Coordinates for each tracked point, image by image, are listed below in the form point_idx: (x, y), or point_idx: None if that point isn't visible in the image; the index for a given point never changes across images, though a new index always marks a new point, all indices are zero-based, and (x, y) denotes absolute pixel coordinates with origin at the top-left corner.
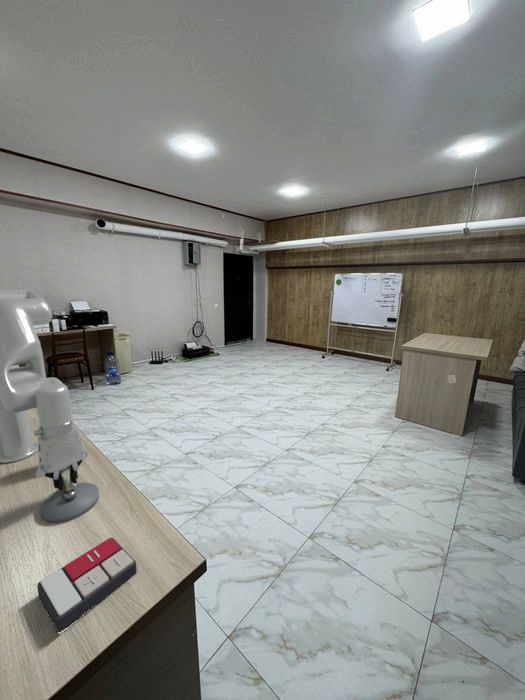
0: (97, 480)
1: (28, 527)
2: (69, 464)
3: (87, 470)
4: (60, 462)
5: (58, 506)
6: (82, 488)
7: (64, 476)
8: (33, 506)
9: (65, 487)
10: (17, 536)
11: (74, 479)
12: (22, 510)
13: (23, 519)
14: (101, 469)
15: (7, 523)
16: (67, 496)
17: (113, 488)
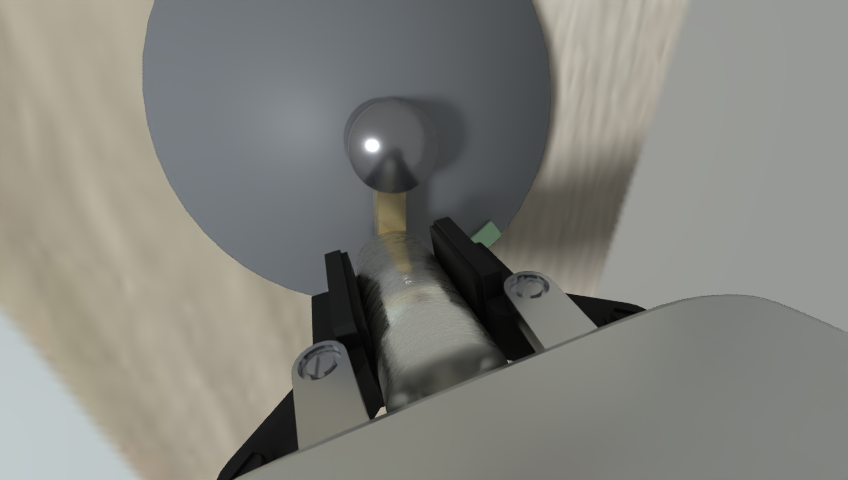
0: (182, 293)
1: (590, 67)
2: (442, 405)
3: (252, 413)
4: (703, 476)
5: (461, 102)
6: (289, 217)
7: (441, 296)
8: (529, 236)
9: (410, 240)
10: (641, 27)
11: (343, 271)
12: (566, 234)
13: (583, 159)
14: (155, 397)
15: (627, 176)
16: (415, 107)
17: (4, 101)
